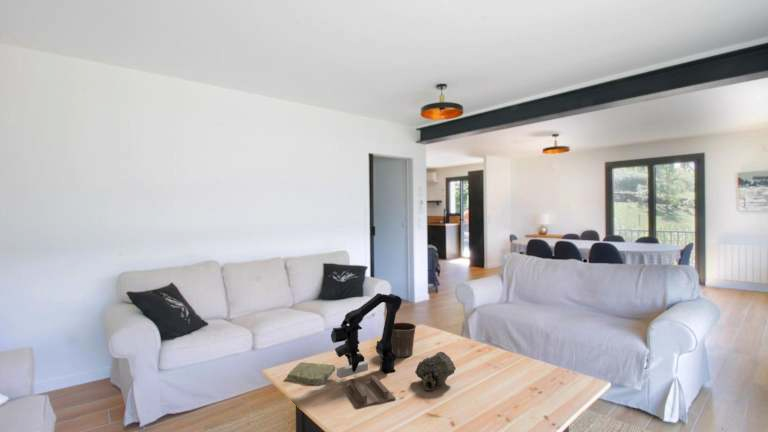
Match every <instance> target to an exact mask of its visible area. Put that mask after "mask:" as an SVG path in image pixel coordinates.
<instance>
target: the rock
mask: <svg viewBox="0 0 768 432" xmlns="http://www.w3.org/2000/svg"><path fill="white" fill-rule="evenodd" d="M416 366H417V367H416V369H415V372H414V373H415V375H416V376H417V377H418V378H419V379H421V381H422V386H423V388H424V389H425V390H426V391H428V392H429V391H430V392H431V391H432V390H434V389H435V386H436V385H442V384H445V383H446V382H447V379H448V377H450V376H451V375H454V374H455V372H456V371H455V370H456V369H457V368H456V366H455V364H454V361H452V358H451V357H450V356H449V355H448V354H446V353H445V352H443V351H439V352H437V353H435V355H433V356H430V357H426V358H424V359H423V360H422V361H419V363H418V364H417V365H416Z"/></svg>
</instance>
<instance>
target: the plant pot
mask: <svg viewBox="0 0 768 432" xmlns="http://www.w3.org/2000/svg"><path fill="white" fill-rule="evenodd" d="M416 327H417V326H416V325H415V323H414V324H413V323H410V322H394V327H393V332H392V337H391V343H392V353H393V354H394V355H396V358H397V357H398V358H407V357H411V356H412V355H413V354H414V340H415V334H416Z"/></svg>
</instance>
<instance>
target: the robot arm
mask: <svg viewBox="0 0 768 432" xmlns="http://www.w3.org/2000/svg"><path fill="white" fill-rule="evenodd" d="M402 300H403V299H402V298H401V297H400V296H399V295H396V294H393V293H390V294H383V293H379V292H378V293H376V294H375V295H374V296H373V297H372V298H370V299H369V300H368V301H366V302H365V303H364V304H362V305H361V306H360V307H358V308H357V309H353V310H351V311H349V312H347V313H346V314H345V315H344V319H343V320H342V322H341V324H340V327H332V330H331V333H330V339H331V341H332V342H333V344H335V343H340V342H344V343H343V344H341V345H339V346H337V347H335V348H334V351H335V354H336V355H337V356H338V358H342V357H343V356H345V357H346V358H347V362H348V365H352V371H353V372H355V371H356V368H357V366H358V364H359V362H364V361H365V356H364V355H363V354H362V353H360V349H359V344H360V340H359V330H363V327H362V326H361V325H360V323H362V321H363V319H364V318H365V317H366V316H367V315H368V314H369V313H371V312H372V311H373V310H375V308H377V307H378V306H379V305H381V304H382V303H385V308H386V314H385V319H384V325H383V328H382V329H383V330H382V335H381V338H380V340H376V346H375V349H376V350H375V351H376V353H377V354H378V356H379V358H380V361H379V370H380V371H381V372H382V373H383V374H391V373H394V372H396V369H395V361H396V360H397V357H396V355H394V354H393V353H392V343H391V337H392V332H393V327H394V323H395V322H396V317H397V316H396V314H397V312H398V311H400V308H401V305H402V302H403V301H402Z"/></svg>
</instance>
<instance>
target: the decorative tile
mask: <svg viewBox="0 0 768 432" xmlns="http://www.w3.org/2000/svg"><path fill="white" fill-rule="evenodd" d="M335 371H336V365H334V364H325V363H315V362H314V363H313V362H304V361H303V362H299V363H298V364H297V365H296V366H295V367H294V368H292V369H291V370H290V372H289V373H288V374H287V376H286V381H288V382H298V383H303V384H307V385H308V384H309V385H310V384H311V385H320V386H323V385H324V384H325V383H326V382H327V381H328V380H329V379H330V378H331V376H332V375H333V373H334V372H335Z"/></svg>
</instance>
